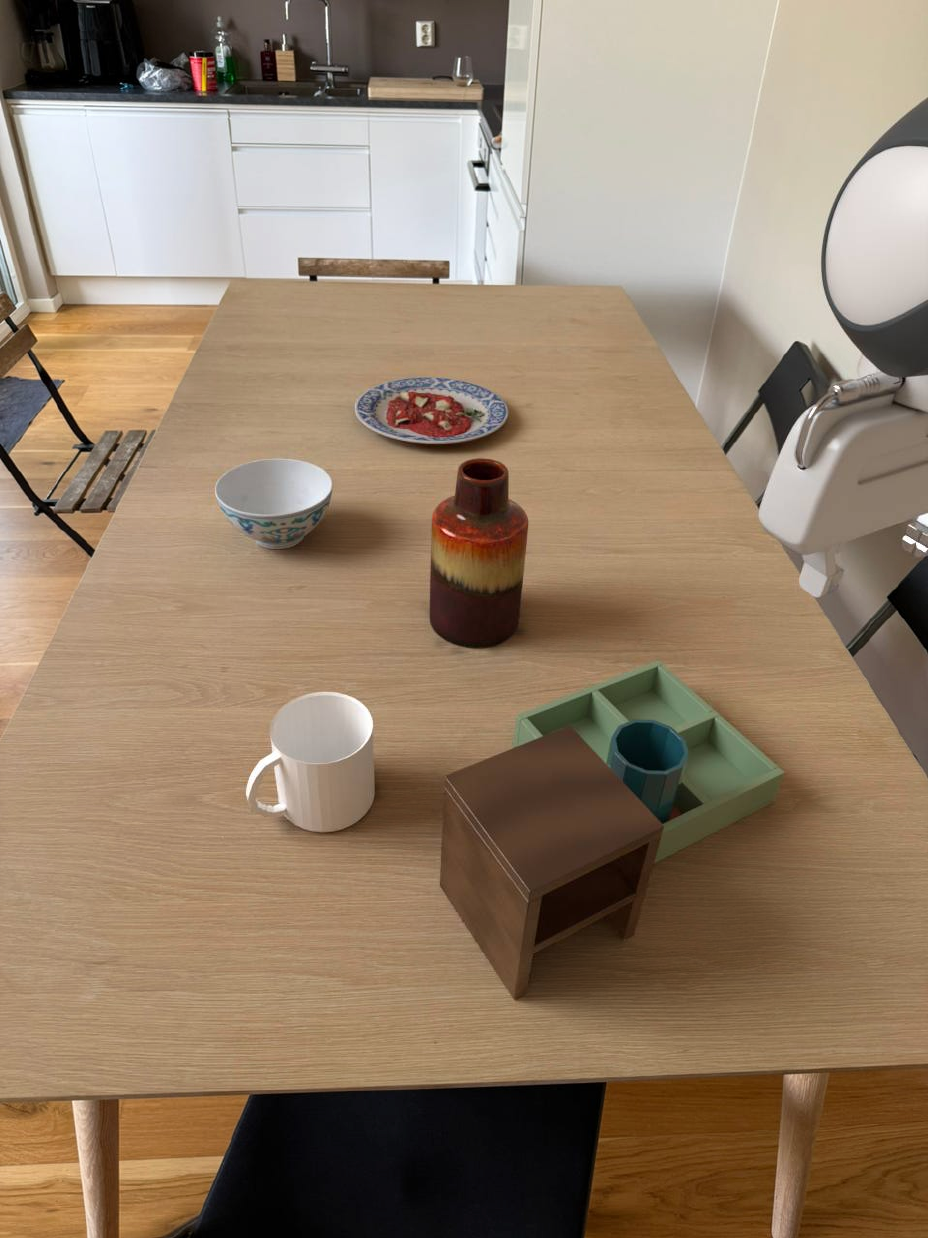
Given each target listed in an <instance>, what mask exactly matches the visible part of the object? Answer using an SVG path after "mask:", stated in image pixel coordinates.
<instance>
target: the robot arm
mask: <svg viewBox="0 0 928 1238" xmlns="http://www.w3.org/2000/svg"><path fill="white" fill-rule="evenodd" d="M820 253H821V255H820V272H821V281H822V287H823V291H824V295H825V298H826V301H827V303H828V306H829V307H830V310H831V311H832V314H833V316H834V318H835V319H836V321H837V323H838V324H839V326H840V327H841V329H842V330H843V332H844V333H845V335H846V336H847V337H848V339H849V340H850V341H851V343H852V344H853V345H854V346H855V348H857V349H858V350H859V351H860V353H861V354H860V357H859V360H858V362H857V367H856V372H857V375H858V377H859V378H857V379H853V378H850V379H849V378H848V379H843V380H840V381H838V382H835V383H834V384H831V386H830V387H829V388H828V390H827V393H826V394H825V395H824V396H822V397H821V398H820V399H819V400H818V401H817V402H816V403H815V404H813V405H811V406H810V407H809V408H807V409H806V410H805V411H804V412H803V413H801V415H800V416H799V417H798V418H797V420H796V421H795V423H794V424H793V426H792V427H791V429H790V431H789V433H788V434H787V437H786V439H785V441H784V443H783V445H782V448H781V450H780V453H779V455H778V457H777V459H776V462H775V464H774V467H773V470H772V472H771V474H770V477H769V480H768V482H767V484H766V488H765V490H764V493H763V495H762V499H761V502H760V505H759V509H758V520H759V522H760V525H761V527H762V529H763V530H764V531H765V533H767V534H768V535H769V536H770V537H772V538H773V539H775V540H776V541H778V542H780V543H781V544H782V545H784V546H785V547H787V548H789V549H790V550H792V551H794V552H795V553H797V554H800V555H801V557H802V560H803V565H802V568H801V571H800V574H799V577H798V585H799V587H800V589H802V590H803V591H805V592H806V593H807V594H809V595H810V596H811V597H813V598H818V599H819V598H821V597H824V596H826V595H828V594H831V593H834V592H835V591H837V590H838V589H839V586H840V584H839V583H840V581H841V580H842V579H843V576H844V573H845V569H844V568H842V567H840V565H838V564H836V554H839V553H842V552H843V551H844V548H845V545H846V543H848V542H851V541H853V540H855V539H858V538H862V537H865V536H866V535H869V534H873V533H875V532H878V531H881V530H884V529H888V528H890V527H892V526H895V525H898V524H901V523H904V522H907V521H910V520H912V519H915V518H916V520H915V521H914V522H910V523H908V524H907V525H906V529H905V531H904V536H903V537H902V539H901V541H900V546H901V549H902V550H903V551H904V552H906V553H908V554H911V555H912V556H913V557H914V558H917V559H921V558H924V557H928V97H926V98H924V99H923V100H922V101H921V102H919V103H918V104H916V105H915V106H914V107H913V108H912V109H910V110H909V111H908V112H906V114H904V115H902V116H901V118H899V120H897V121H896V122H895V123H894V124H893V125H892V126H891V127H890V128H888V129H887V130H886V132H884V133H883V134H882V135H881V136H879V138H878V140H877V141H875V143H874V144H873V145H872V146H871V147H870V148H869V149H868V150H867V151H866V153H865V154H864V155H863V156H862V157H861V159H860V160H859V161H858V162H857V163H856V164H855V166H854V168H853V169H852V170H851V171H850V172H849V173H848V176H847V177H846V178H845V180H844V182H843V183H842V185H841V187H840V189H839V190H838V192H837V194H836V196H835V199H834V201H833V204H832V206H831V208H830V211H829V214H828V217H827V221H826V225H825V228H824V232H823V238H822V245H821V252H820Z"/></svg>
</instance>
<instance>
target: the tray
mask: <svg viewBox="0 0 928 1238" xmlns="http://www.w3.org/2000/svg"><path fill="white" fill-rule="evenodd" d="M635 719H642V720H655V721H658V722H660V723H663V724H665V725H668V726H670V727H671V728H673V729H674V730H675V731H677V732H678V733H679V734H680V735H681V736H682V737H683V738H684V739H685V741H686V744H687V748H688V752H689V757H688V760H687V764H686V767H685V771H684V775H683V778H682V782H681V785H680V789H679V792H678V796H677V799H676V803H675V806H674V810H673V813H672V817H671V820H670V821H668V822H666V823H664V824H663V825H664V829H663V833H662V836H661V840H660V844H659V848H658V851H657V855H656V858H655V862H654V864H656V863H658V862H660V861H662V860H663V859H666V858H668V857H670V856H672V855H673V854H675V853H678V852H679V851H681V850H683V849H686V848H687V847H689V846H692V845H694V844H695V843H697V842H699V841H701V840H703V839H705V838H706V837H709V836H711V835H713V834H715V833H716V832H718V831H721V830H723V829H724V828H726V827H729V826H731V825H733V824H734V823H736V822H738V821H740V820H742V819H744V818H746V817H748V816H750V815H751V814H754V813H756V812H757V811H760V810H761V809H764V808H765V807H767V806H770V805H771V804H773V803H774V802H775V799H776V796H777V795H778V791H779V789H780V788H781V787H780V786H781V784H782V781H783V779H784V776H785V774H786V772H785V771H784V770H783V769H782V768H781V767H779V766H778V765H777V764H776V763H775V762H774V761H773V760H772V759H771V758H770V757H768V756H767V755H766V754H765V753H764V752H763V751H761V750H760V749H759V748H758V747H757V746H756V745H754V743H753V742H751V741H750V740H749V739H748V738H747V737H746V736H745V735H744V734H742V733H741V732H740V731H739V730H738V729H737V728H736V727H734V726H733V724H731V723H730V722H729V721H727V720H726V719H725V718H724V717H723V716H722V715H721V714H720V713H718V711H717V710H715V709H714V708H713V707H712V706H711V705H710V704H708V702H706V701H705V700H704V699H703V698H702V697H700V695H698V694H697V693H696V692H695V691H694V690H693V689H692V688H690V687H689V686H688V685H687V684H686V683H685V682H684V681H683V680H681V678H680V677H678V676H677V675H676V674H675V673H674V672H672V671H671V670H670V668H668V667H667V666H666V665H665V664H663V662H661V661H660V660H654V661H652V662H649V663H647V664H645V665H642V666H640V667H637V668H634V669H632V670H629V671H627V672H624V673H621V674H619V675H616V676H613V677H611V678H609V679H606V680H603V681H601V682H597V683H595V684H593V685H591V686H588V687H585V688H583V689H580V690H577V691H575V692H572V693H570V694H567V695H564V696H563V697H560V698H559V697H558V698H556V699H554V700H552V701H549V702H546V703H544V704H542V705H538V706H536V707H534V708H531V709H528V710H526V711H523V712H520V713H518V714H516V715H515V723H514V732H513V741H512V746H513V748H515V747H517V746H520V745H522V744H525V743H527V742H530V741H532V740H535V739H537V738H540V737H542V736H545V735H547V734H549V733H552V732H554V731H557V730H559V729H562V728H564V727H567V726H569V725H570V726H571V727H572V728H573V729H574V730H575V731H576V732H577V733H578V734H579V735H580V736H581V737H582V738H583V740H584V741H585V742H586V743H587V744H588V745H589V746H590V747H591V748H592V749H593V750H594V751H595V752H596V753H597V755H598V756H599V757H600V758H601V759H602V760H603V761H604V762H605V763H606V762H607V757H608V752H609V747H610V742H611V737H612V736H613V734H614V732H615V731H616V729H617V728H618V726H619V725H622V724H624V723H626V722H629V721H631V720H635Z"/></svg>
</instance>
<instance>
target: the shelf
mask: <svg viewBox="0 0 928 1238" xmlns="http://www.w3.org/2000/svg"><path fill="white" fill-rule="evenodd" d="M443 779H444V781H443V802H442V803H443V804H442V822H441V823H442V826H441V845H440V847H441V848H440V850H441V851H440V868H439V869H440V870H439V871H440V872H439V887H440V889H441V890H442V892H443V893H444V895H445V896H446V898H447V900H448V901H449V902H450V904H451V905H452V907H453V909H454V910H455V912H456V913H457V915H458V917H459V918H460V919H461V921H462V922H463V924H464V925H465V927H466V929H467V930H468V932H469V933H470V934H471V936H472V937H473V939H474V941H475V942H476V944H477V945H478V947H479V949H480V950H481V952H482V953H483V954H484V956H485V958H486V959H487V961H488V962H489V964H490V965H491V967H492V969H493V970H494V972H495V973H496V975H497V976H498V977H499V979H500V981H501V982H502V984H503V986H504V987H505V988H506V990H507V991H508V993H509V994H510V996H511V997H512V999H513V1000H518V999H519V998H521V997H523V996H524V995H526V994H527V993H528V986H529V981H530V974H531V967H532V961H533V954H536V953H537V952H540V951H541V950H543V949H545V948H547V947H549V946H551V945H553V944H556V942H558V941H560V940H562V939H564V938H566V937H568V936H570V935H572V934H574V933H576V932H578V931H579V930H581V929H583V928H585V927H587V926H589V925H591V924H593V923H595V922H597V921H599V920H600V919H603V918H605V919H606V921H607V922H608V923H609V924H610V926H611V927H612V928H613V929H614V931H615V932H616V933H617V935H618V936H619V937H620V939H621V940H622V941H625V940H627V939H628V938H630V937H632V936H634V935H635V933H636V929H637V927H638V922H639V920H640V919H639V918H640V915H641V913H642V912H641V911H642V908H643V906H644V901H645V897H646V894H647V890H648V887H649V883H650V879H651V876H652V872H653V868H654V865H655V863H654V862H655V858H656V855H657V851H658V848H659V844H660V840H661V836H662V833H663V829H664V825H663V824H662V823H661V822H660V821H659V820H658V819H657V818H656V817H655V816H654V815H653V813H652V812H651V811H650V810H649V809H648V808H647V807H646V806H645V805H644V804H643V803H642V802H641V801H640V800H639V798H638V797H637V796H636V795H635V794H634V793H633V792H632V791H631V790H630V789H629V788H628V787H627V786H626V785H625V783H624V782H623V781H622V780H621V779H620V778H619V777H618V776H617V775H616V774H615V773H614V772H613V771H612V770H611V768H610V767H609V766H608V765H607V764H606V763H605V762H604V761H603V760H602V759H601V758H600V757H599V756H598V755H597V753H596V752H595V751H594V750H593V749H592V748H591V747H590V746H589V745H588V744H587V743H586V742H585V741H584V740H583V738H582V737H581V736H580V735H579V734H578V733H577V732H576V731H575V730H574V729H573V728H572V727H571V726H570V725H569V726H567V727H564V728H562V729H559V730H557V731H554V732H552V733H549V734H547V735H545V736H542V737H540V738H537V739H535V740H532V741H530V742H527V743H525V744H522V745H520V746H517V747H512V748H510V749H507V750H506V751H503V752H500V753H498V754H495V755H493V756H490V757H487V758H485V759H483V760H481V761H478V762H475V763H473V764H470V765H469V766H466V767H464V768H461V769H459V770H456V771H453V772H451V773H449V774H446V775H444V778H443Z"/></svg>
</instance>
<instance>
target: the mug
mask: <svg viewBox="0 0 928 1238" xmlns="http://www.w3.org/2000/svg"><path fill="white" fill-rule="evenodd" d="M269 738H270V745H271V746H270V747H271V753H270V754H269V755H268V754H267V756H265V757H263V758H262V759H260V760H259V761H258V762H257V764H256V766H255V767H254V768H253V770H252V772H251V773H250V774H249V775H250V776H249V778H248V780H247V784H246V789H245V795H246V799H247V803H248V806H249V808H250V811H251V812H252V813H255V814H257V815H258V814H259V815H260V816H262V817H263V818H269V819H273V818H278V817H282V816H283V817H285V818H286V819H287V820H288V821H290V822H291V823H292V824H293V825H295V826H296V827H297V828H300V829H302V830H305V831H310V832H312V833H323V834H324V833H333V832H338V831H342V830H344V829H346V828H349V827H351V826H353V825H355V824H356V823H357V822H359V821H360V820H361V819H362V818H363V817H364V816H366V814H367V813H368V811H370V809H371V808H372V805H373V803H374V801H375V800H374V799H375V794H376V792H375V791H376V787H375V757H374V756H375V755H374V750H375V749H374V722H373V717H372V715H371V712H370V710H368V707H367V706H365V704H363V702H361V701H359V700H358V699H356V698H354V697H353V696H350V695H348V694H345V693H341V692H335V691H316V692H309V693H306V694H303V695H300V696H297V697H295V698H293V699H290V701H288V702H286V703H285V704H283V705H282V706H281V707H280V708H279V709H278V710H277V711H276V712H275V714H274V716H273V717H272V719H271V722H270V725H269ZM273 768H274V777H275V785H276V790H277V799H278V800H277V801H278V804H275V805H273V806H272V805H266V804H264V803H262V802H261V801H258V800H257V795H258V791H259V788H260V785H261V783H262V781H263V779H264V778H265V776H266V775H267V773H268V772H269V771H270V770H272V769H273Z"/></svg>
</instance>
